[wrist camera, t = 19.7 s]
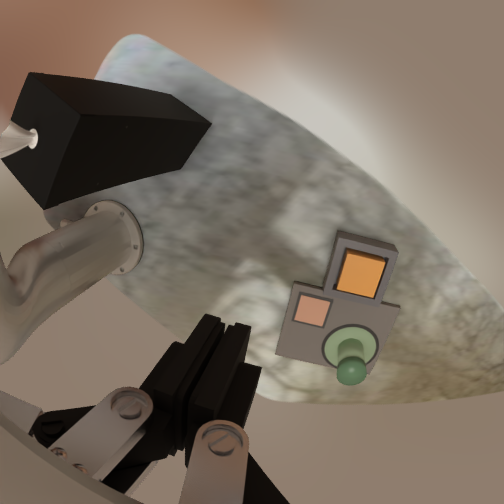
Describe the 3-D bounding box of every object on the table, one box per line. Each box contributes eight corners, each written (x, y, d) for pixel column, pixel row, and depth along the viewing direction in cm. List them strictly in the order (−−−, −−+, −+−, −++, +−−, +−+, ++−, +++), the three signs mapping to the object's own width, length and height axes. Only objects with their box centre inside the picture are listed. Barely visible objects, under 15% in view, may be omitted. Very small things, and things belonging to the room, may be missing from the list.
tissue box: (213, 123, 38) (43, 115, 13) (181, 170, 41) (11, 223, 16) (170, 94, 38) (-4, 70, 12) (142, 139, 41) (-31, 164, 15)
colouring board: (275, 351, 48) (274, 355, 47) (294, 280, 43) (293, 284, 42) (369, 371, 46) (369, 375, 45) (399, 305, 41) (400, 309, 40)
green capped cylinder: (333, 356, 45) (332, 382, 40) (341, 335, 43) (342, 360, 38) (358, 361, 44) (360, 387, 39) (367, 340, 43) (371, 366, 37)
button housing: (323, 284, 43) (322, 294, 40) (337, 230, 40) (338, 237, 37) (376, 297, 41) (378, 307, 39) (394, 244, 38) (398, 252, 36)
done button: (336, 281, 41) (336, 289, 38) (346, 246, 39) (347, 253, 37) (370, 289, 40) (372, 297, 38) (382, 255, 38) (385, 262, 36)
